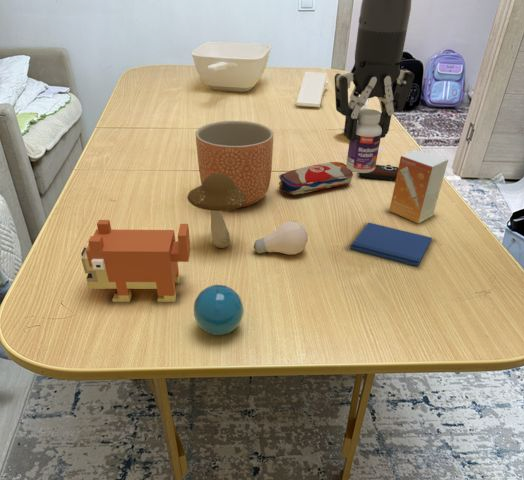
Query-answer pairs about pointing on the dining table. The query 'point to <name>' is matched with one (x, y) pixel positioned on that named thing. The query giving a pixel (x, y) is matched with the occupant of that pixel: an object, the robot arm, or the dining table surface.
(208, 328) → the ball
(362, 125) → the pill bottle
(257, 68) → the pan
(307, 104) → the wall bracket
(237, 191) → the mushroom
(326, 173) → the pencil case
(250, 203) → the planter
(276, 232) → the light bulb
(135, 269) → the toy character
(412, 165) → the small box
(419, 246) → the book
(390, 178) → the camera
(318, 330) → the dining table surface
